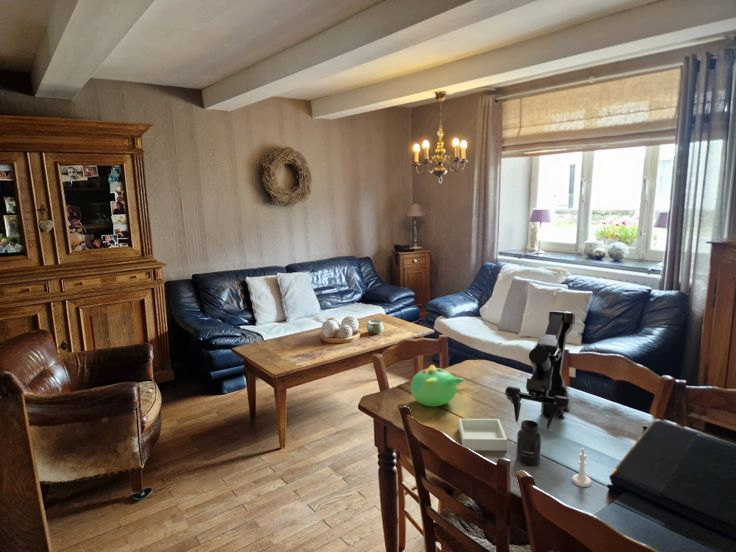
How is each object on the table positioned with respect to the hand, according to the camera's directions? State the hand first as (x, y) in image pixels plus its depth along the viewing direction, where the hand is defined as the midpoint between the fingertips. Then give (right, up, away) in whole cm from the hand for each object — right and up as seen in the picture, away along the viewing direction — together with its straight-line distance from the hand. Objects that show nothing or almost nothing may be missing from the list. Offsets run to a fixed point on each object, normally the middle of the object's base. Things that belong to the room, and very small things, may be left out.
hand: (531, 425), depth 141 cm
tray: (-12, -9, +12) cm, 19 cm away
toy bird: (-24, -5, +39) cm, 46 cm away
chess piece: (+10, -12, -12) cm, 19 cm away
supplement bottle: (-1, -11, -1) cm, 11 cm away
